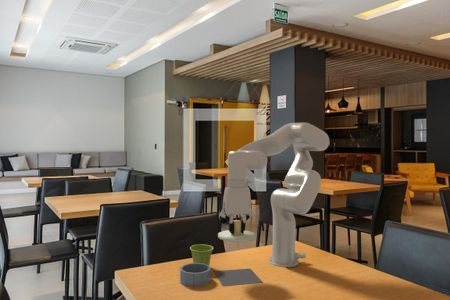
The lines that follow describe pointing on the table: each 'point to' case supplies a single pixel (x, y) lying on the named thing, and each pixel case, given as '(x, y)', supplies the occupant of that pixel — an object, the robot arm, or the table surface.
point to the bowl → (195, 274)
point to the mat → (237, 277)
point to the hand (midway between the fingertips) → (236, 232)
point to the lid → (237, 234)
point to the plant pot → (201, 253)
